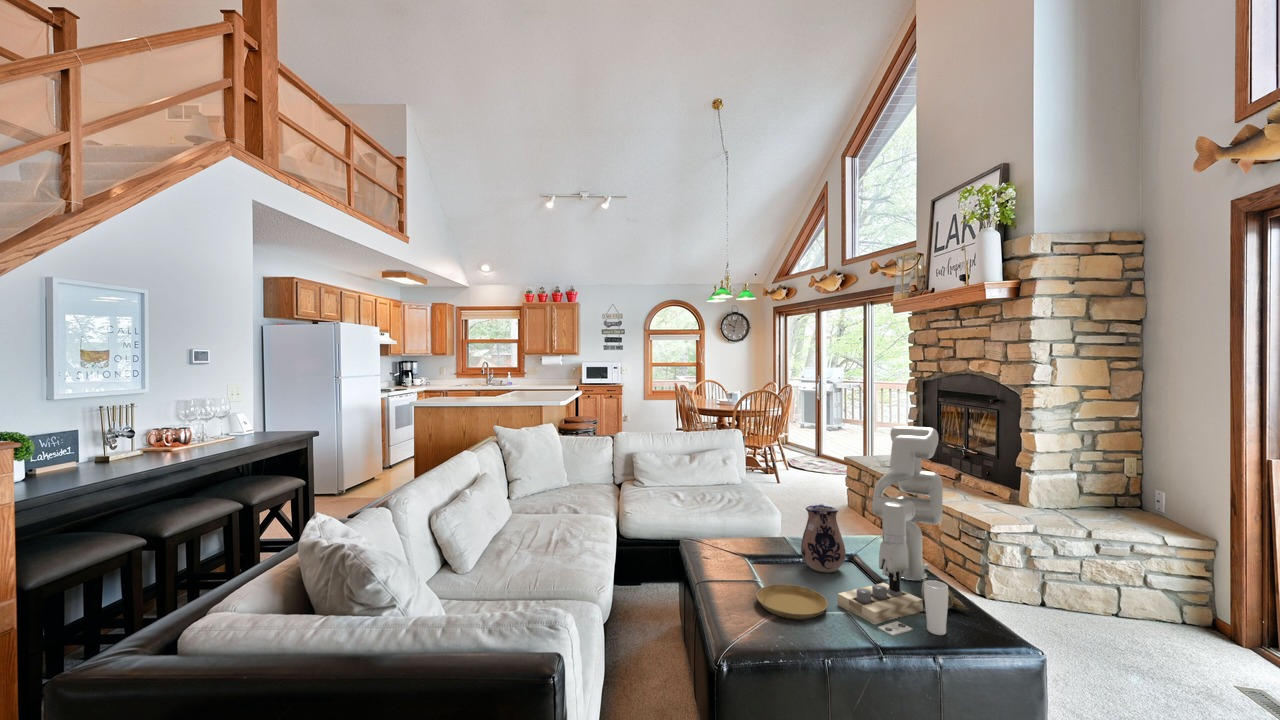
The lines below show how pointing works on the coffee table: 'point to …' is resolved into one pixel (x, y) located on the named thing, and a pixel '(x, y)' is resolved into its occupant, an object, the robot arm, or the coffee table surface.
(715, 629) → the coffee table surface
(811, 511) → the ceramic pitcher
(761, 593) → the plant saucer
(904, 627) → the pattern card
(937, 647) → the coffee table surface
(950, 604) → the ceramic sculpture
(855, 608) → the button board
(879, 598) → the middle button
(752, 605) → the coffee table surface
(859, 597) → the button
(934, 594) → the drinking glass
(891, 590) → the button
